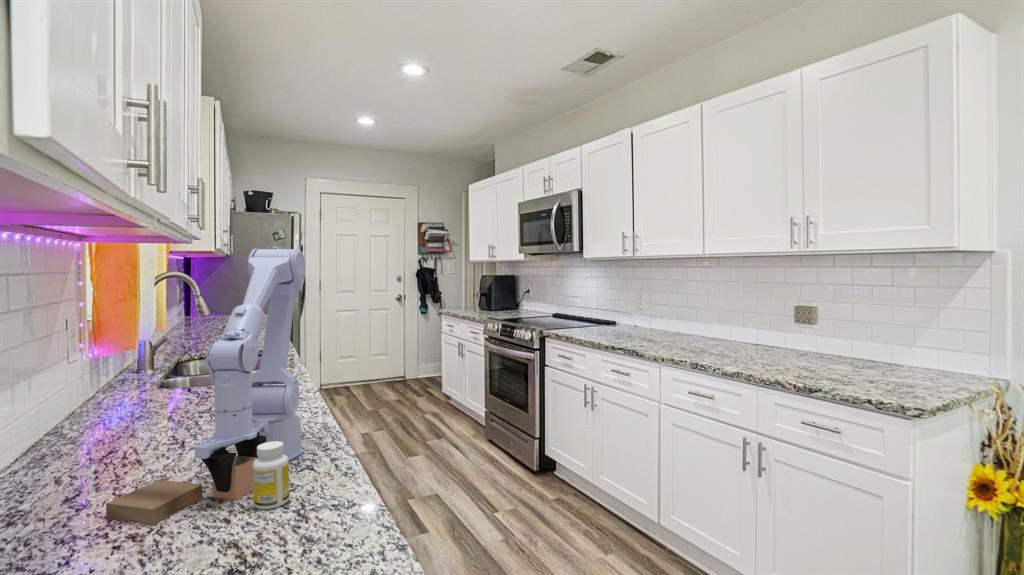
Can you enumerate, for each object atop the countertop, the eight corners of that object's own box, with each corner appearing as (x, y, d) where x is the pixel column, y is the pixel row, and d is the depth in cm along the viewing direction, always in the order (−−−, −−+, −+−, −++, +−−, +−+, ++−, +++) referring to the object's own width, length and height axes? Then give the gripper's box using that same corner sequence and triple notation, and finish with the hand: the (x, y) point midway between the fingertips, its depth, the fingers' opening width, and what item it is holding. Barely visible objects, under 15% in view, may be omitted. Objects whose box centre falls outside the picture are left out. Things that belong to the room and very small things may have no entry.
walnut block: (159, 496, 85) (159, 479, 85) (202, 501, 83) (202, 484, 83) (106, 522, 77) (106, 503, 77) (152, 528, 75) (152, 509, 75)
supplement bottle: (280, 492, 86) (279, 437, 86) (295, 501, 82) (294, 444, 82) (247, 503, 82) (246, 445, 81) (262, 513, 78) (261, 453, 78)
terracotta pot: (234, 485, 89) (234, 455, 89) (257, 487, 88) (256, 457, 88) (213, 497, 84) (212, 465, 84) (236, 499, 83) (236, 467, 83)
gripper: (219, 421, 78) (221, 505, 78) (281, 398, 92) (283, 469, 92) (183, 418, 79) (185, 501, 80) (249, 396, 93) (251, 466, 94)
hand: (235, 484), depth 86 cm, fingers closed on terracotta pot, 5 cm apart
